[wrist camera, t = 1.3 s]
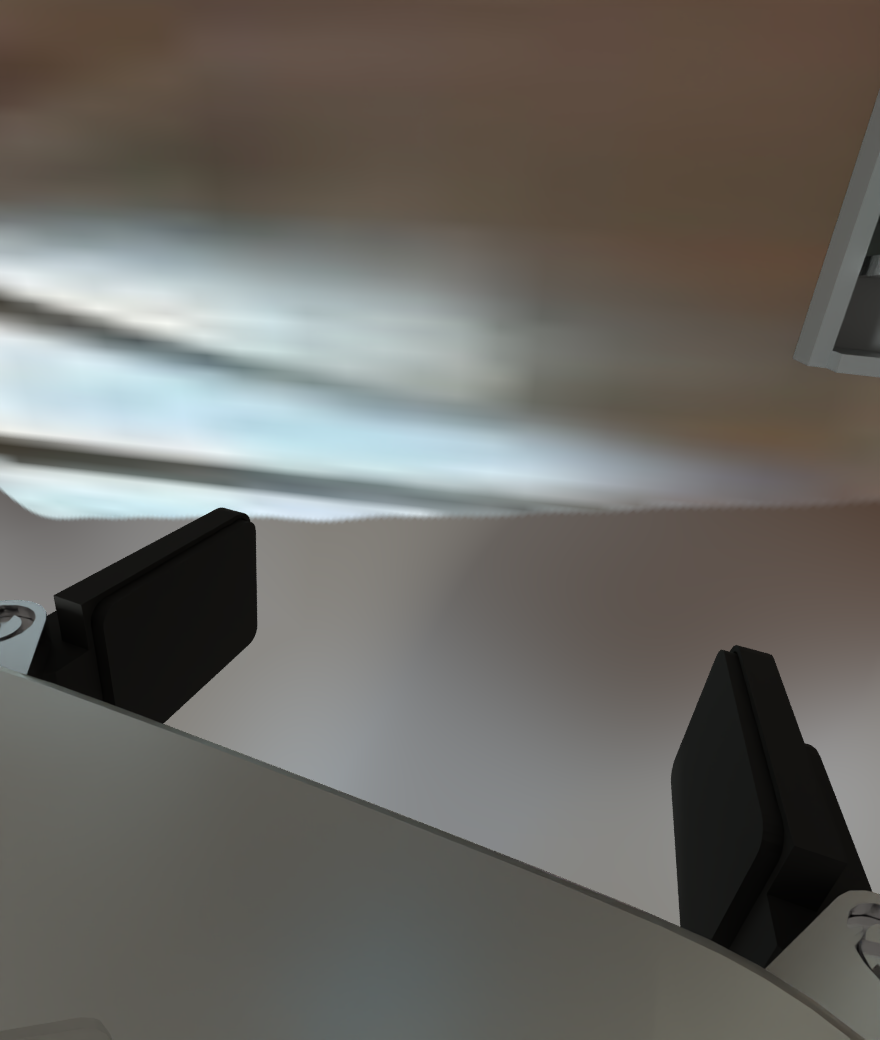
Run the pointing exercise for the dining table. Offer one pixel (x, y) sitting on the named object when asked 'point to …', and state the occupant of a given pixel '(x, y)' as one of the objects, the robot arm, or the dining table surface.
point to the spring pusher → (871, 267)
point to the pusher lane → (849, 276)
